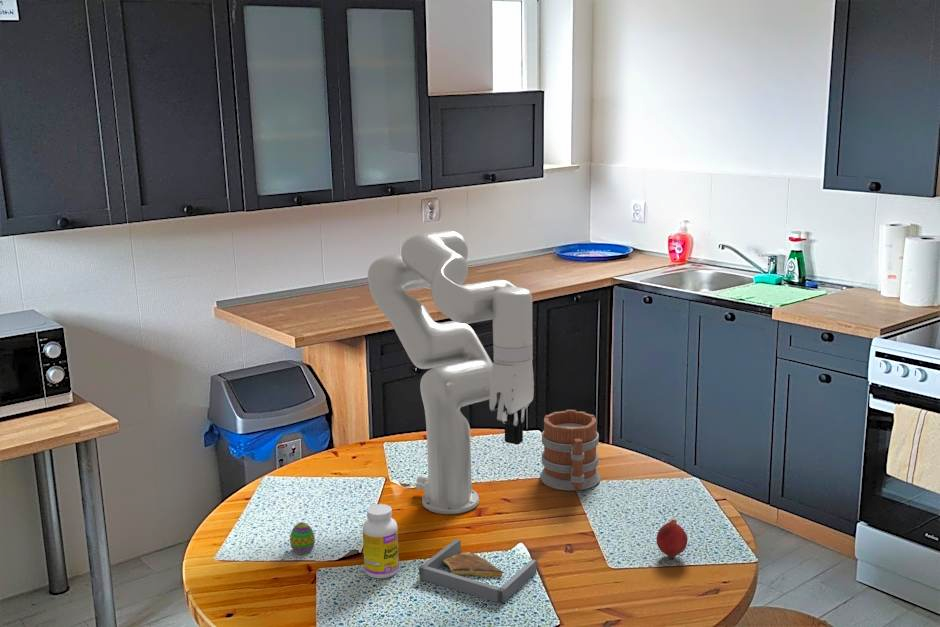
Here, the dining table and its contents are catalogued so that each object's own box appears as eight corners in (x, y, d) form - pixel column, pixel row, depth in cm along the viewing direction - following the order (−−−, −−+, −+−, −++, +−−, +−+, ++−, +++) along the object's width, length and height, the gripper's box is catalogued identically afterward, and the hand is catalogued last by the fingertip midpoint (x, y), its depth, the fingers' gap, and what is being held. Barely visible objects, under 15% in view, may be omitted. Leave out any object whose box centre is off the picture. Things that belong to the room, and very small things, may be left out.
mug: (594, 466, 231) (594, 407, 227) (610, 500, 212) (610, 436, 208) (536, 468, 230) (535, 409, 226) (547, 503, 211) (546, 439, 208)
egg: (306, 542, 196) (304, 515, 195) (320, 550, 193) (318, 522, 191) (285, 550, 193) (283, 523, 191) (300, 558, 189) (298, 530, 188)
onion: (668, 567, 182) (670, 528, 181) (650, 554, 187) (651, 516, 186) (692, 559, 185) (694, 521, 183) (673, 547, 190) (674, 510, 188)
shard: (504, 578, 181) (504, 570, 180) (471, 591, 176) (471, 583, 176) (470, 557, 189) (470, 548, 189) (438, 569, 185) (438, 560, 184)
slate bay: (419, 579, 180) (419, 567, 180) (456, 550, 191) (456, 538, 190) (502, 604, 171) (502, 591, 170) (536, 572, 182) (536, 560, 181)
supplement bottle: (385, 583, 179) (382, 520, 176) (357, 574, 183) (354, 512, 180) (406, 567, 185) (403, 506, 182) (378, 559, 188) (375, 499, 185)
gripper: (514, 340, 191) (515, 426, 196) (475, 359, 179) (477, 451, 184) (548, 345, 188) (548, 433, 192) (510, 365, 175) (511, 458, 180)
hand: (513, 441), depth 188 cm, fingers closed
